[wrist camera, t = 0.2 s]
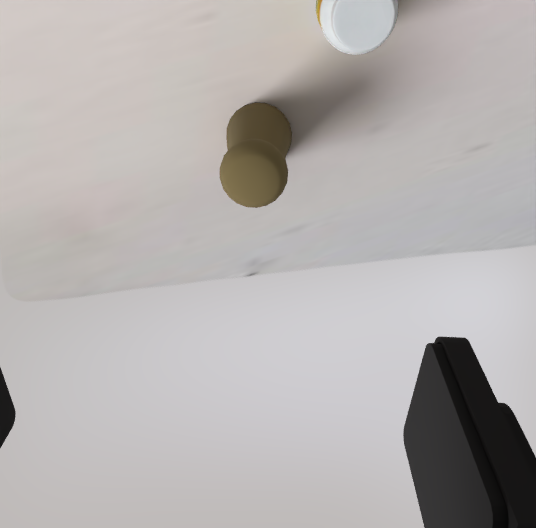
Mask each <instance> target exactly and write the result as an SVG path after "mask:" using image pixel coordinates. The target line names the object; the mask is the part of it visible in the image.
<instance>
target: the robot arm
mask: <svg viewBox="0 0 536 528" xmlns="http://www.w3.org/2000/svg"><path fill="white" fill-rule="evenodd" d="M14 421H15V408H14V405H13V402H12V399H11V397H10V394H9V391H8V388H7V385H6V382H5V380H4V376H3V374H2V371H1V368H0V448H1V446H2V444H3V443H4V441H5V439H6V437H7V436H8V434H9V432H10V430H11V429H12V427H13V424H14ZM404 445H405V449H406V453H407V457H408V461H409V465H410V470H411V474H412V477H413V482H414V486H415V490H416V494H417V498H418V502H419V506H420V511H421V514H422V519H423V523H424V527H425V528H536V457H535V455H534V453H533V451H532V449H531V447H530V445H529V443H528V441H527V439H526V437H525V435H524V433H523V431H522V429H521V427H520V425H519V423H518V421H517V419H516V417H515V415H514V413H513V412H512V410H511V408H510V407H509V406H508V405H506V404H505V403H498V402H497V399H496V397H495V395H494V393H493V391H492V389H491V387H490V385H489V383H488V381H487V378H486V376H485V374H484V372H483V370H482V368H481V366H480V364H479V362H478V359H477V357H476V355H475V353H474V351H473V349H472V347H471V345H470V343H469V341H468V340H467V339H466V338H456V337H437V338H436V340H435V342H434V343H429V344H427V345H426V348H425V352H424V356H423V359H422V363H421V367H420V370H419V374H418V378H417V382H416V385H415V389H414V392H413V396H412V400H411V404H410V408H409V411H408V415H407V418H406V423H405V426H404Z"/></svg>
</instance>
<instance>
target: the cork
mask: <svg viewBox="0 0 536 528" xmlns="http://www.w3.org/2000/svg"><path fill="white" fill-rule="evenodd" d="M291 137H292V132H291V127H290V123H289V122H288V120H287V118H286V117H285V115H284V114H283V113H282V112H281V111H280V110H278V109H277V108H276V107H274V106H271V105H269V104H267V103H252V104H248V105H245V106H243V107H242V108H240V109H239V110H237V111H236V112H235V114H234V115H233V116H232V117H231V119H230V121H229V124H228V127H227V148H228V151H227V153H226V154H225V155H224V158H223V160H222V163H221V166H220V180H221V183H222V186H223V189H224V191H225V192H226V193H227V195H228V196H229V197H230V198H231V199H232V200H233V201H235V202H236V203H238V204H240V205H243V206H246V207H255V208H257V207H262V206H266V205H268V204H270V203H272V202H273V201H275V200H276V199H277V198H278V197H279V196H280V195H281V194H282V192H283V190H284V188H285V186H286V184H287V177H288V168H287V164H286V160H285V157H286V155H287V152H288V149H289V147H290V144H291Z"/></svg>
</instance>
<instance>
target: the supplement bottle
mask: <svg viewBox="0 0 536 528" xmlns="http://www.w3.org/2000/svg"><path fill="white" fill-rule="evenodd" d="M316 14H317V18H318V21H319V24H320V26H321V29H322V31H323V33H324V35H325V37H326V39H327V40H328V41H329V43H330V44H331V45H332V46H333V47H335V48H336V49H337V50H339V51H341V52H344V53H347V54H353V55H358V54H364V53H368V52H370V51H372V50H374V49H376V48H377V47H379V46H380V45H381V44H382V43H383V42H384V41H385V40H386V39H387V38H388V37H389V35H390V34H391V32H392V30H393V28H394V26H395V23H396V20H397V15H398V0H317V1H316Z"/></svg>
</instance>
